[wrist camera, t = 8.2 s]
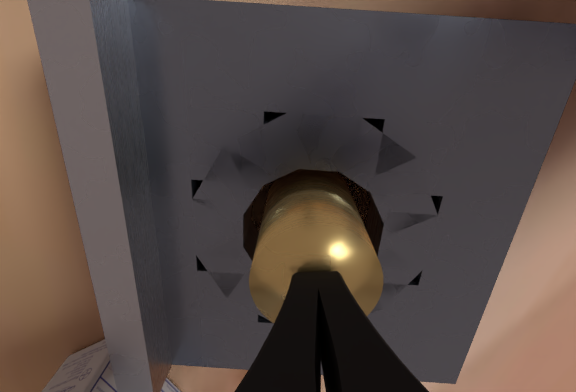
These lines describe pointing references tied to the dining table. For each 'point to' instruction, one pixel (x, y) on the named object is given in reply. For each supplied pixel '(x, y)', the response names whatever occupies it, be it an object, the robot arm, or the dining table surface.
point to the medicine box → (90, 373)
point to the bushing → (312, 240)
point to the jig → (293, 160)
